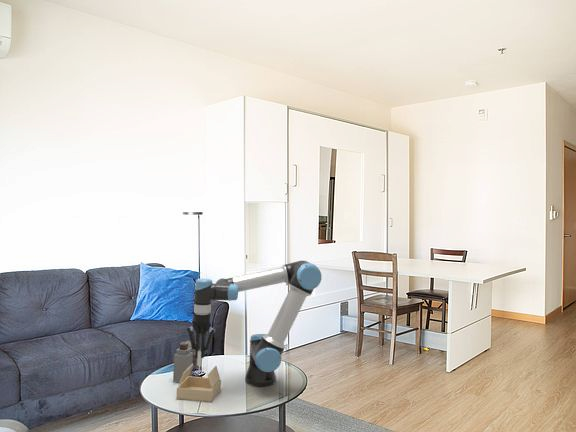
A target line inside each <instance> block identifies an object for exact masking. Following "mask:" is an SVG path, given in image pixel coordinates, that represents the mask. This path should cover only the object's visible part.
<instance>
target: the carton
mask: <svg viewBox="0 0 576 432" xmlns="http://www.w3.org/2000/svg"><path fill="white" fill-rule="evenodd" d="M221 390H222V379H221V378H220V379H219V380H218V381H217V382H216V384H215V385H214V386H213V388H211V385H210V382H209V379H208V377H201V376H193V375H192V376H188V377H187V378H186V379H185V380H184V381H183V382H182V383H181V384H180V385H179V384H178V386H177V387H176V398H175V399H176V400H181V401H182V400H183V401H194V402H202V403H213V402H214V400H215V398H216V397H217V395H219V393H220V391H221Z"/></svg>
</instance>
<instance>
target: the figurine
mask: <svg viewBox="0 0 576 432" xmlns="http://www.w3.org/2000/svg"><path fill="white" fill-rule="evenodd" d="M182 343H186V344H188V348H191V350H190V352H193V359H192V364H193V366H192V371H193V370H198V369H200V366H197V358H196V350H195V349H192V346H191V341H190V340H186V341H182V342H180V344H182ZM195 343H196V341H195ZM178 347H179V346H178ZM179 348H180V347H179ZM199 350H201V348H200V349H199ZM193 368H194V369H193Z"/></svg>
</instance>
